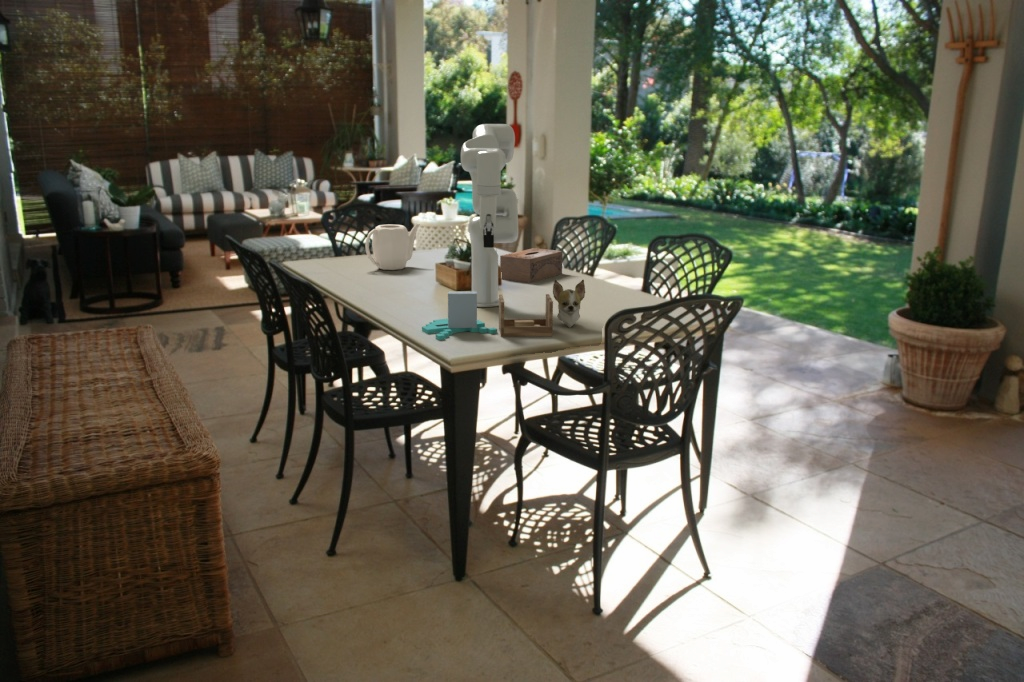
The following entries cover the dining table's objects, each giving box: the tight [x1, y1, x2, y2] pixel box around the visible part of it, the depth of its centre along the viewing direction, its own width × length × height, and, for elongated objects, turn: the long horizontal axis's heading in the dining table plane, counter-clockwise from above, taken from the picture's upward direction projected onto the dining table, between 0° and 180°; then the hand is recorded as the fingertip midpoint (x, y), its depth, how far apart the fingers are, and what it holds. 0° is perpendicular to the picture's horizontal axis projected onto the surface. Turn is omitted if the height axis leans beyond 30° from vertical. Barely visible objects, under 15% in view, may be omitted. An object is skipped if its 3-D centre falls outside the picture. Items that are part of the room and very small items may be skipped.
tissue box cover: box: [499, 247, 564, 284], centre depth 370 cm, size 26×14×10 cm, turn 146°
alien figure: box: [421, 318, 498, 341], centre depth 280 cm, size 20×2×20 cm
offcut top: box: [514, 320, 534, 327], centre depth 275 cm, size 2×6×2 cm, turn 97°
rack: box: [498, 293, 554, 338], centre depth 276 cm, size 11×16×11 cm
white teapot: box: [364, 223, 420, 271], centre depth 385 cm, size 16×27×19 cm, turn 126°
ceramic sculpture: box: [552, 279, 586, 328], centre depth 285 cm, size 11×9×15 cm
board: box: [447, 290, 478, 328], centre depth 277 cm, size 4×9×11 cm, turn 95°
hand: (488, 244), depth 281 cm, fingers open, 9 cm apart
